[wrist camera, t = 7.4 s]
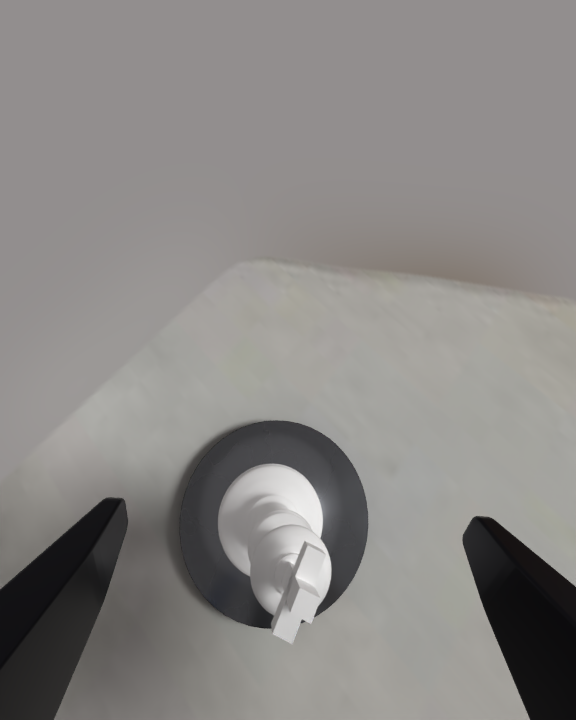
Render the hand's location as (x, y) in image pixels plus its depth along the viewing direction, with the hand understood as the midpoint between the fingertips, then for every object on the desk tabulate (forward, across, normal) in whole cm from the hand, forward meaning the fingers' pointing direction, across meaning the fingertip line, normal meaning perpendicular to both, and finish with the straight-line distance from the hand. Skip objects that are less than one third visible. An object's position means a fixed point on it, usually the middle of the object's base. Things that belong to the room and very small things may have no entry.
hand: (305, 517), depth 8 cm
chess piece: (+5, 0, +7) cm, 8 cm away
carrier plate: (+5, 0, +7) cm, 9 cm away
